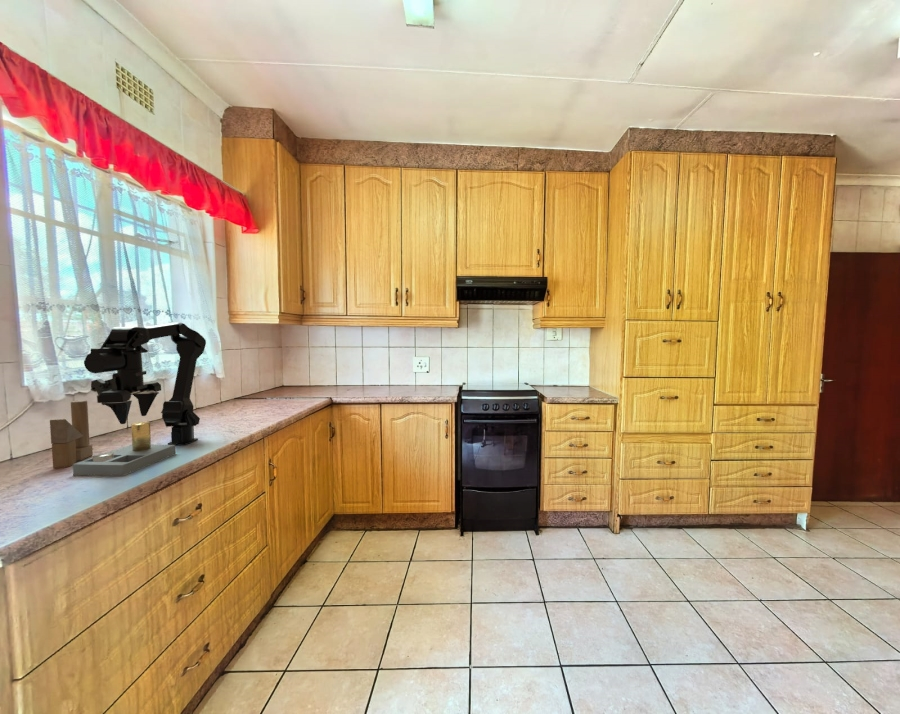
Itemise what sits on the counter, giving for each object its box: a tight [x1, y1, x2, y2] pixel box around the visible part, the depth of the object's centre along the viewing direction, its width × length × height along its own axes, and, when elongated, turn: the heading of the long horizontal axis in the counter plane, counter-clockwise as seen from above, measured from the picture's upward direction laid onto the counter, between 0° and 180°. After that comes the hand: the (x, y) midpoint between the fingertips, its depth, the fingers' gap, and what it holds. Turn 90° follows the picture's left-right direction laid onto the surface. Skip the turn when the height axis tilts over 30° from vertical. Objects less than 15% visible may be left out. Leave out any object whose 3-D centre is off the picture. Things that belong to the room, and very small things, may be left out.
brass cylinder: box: [130, 421, 152, 451], centre depth 110 cm, size 4×4×8 cm
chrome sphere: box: [92, 452, 114, 462], centre depth 102 cm, size 4×4×4 cm
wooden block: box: [49, 399, 94, 469], centre depth 107 cm, size 4×11×18 cm, turn 17°
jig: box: [72, 443, 177, 477], centre depth 106 cm, size 18×14×3 cm
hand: (133, 419), depth 107 cm, fingers open, 9 cm apart
